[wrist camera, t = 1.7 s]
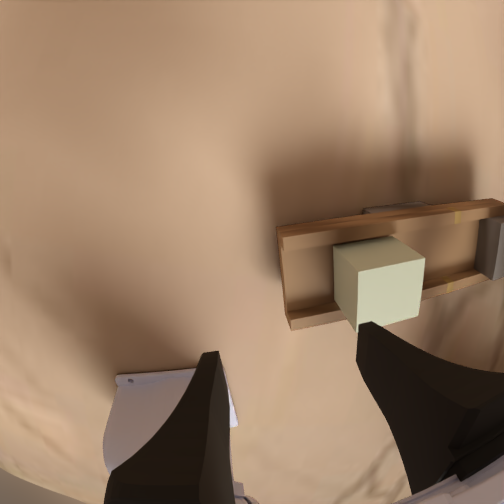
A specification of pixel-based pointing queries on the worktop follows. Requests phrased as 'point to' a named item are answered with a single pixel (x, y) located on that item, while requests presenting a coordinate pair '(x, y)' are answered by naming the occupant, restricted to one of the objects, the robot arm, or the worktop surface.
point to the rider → (377, 281)
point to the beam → (405, 230)
